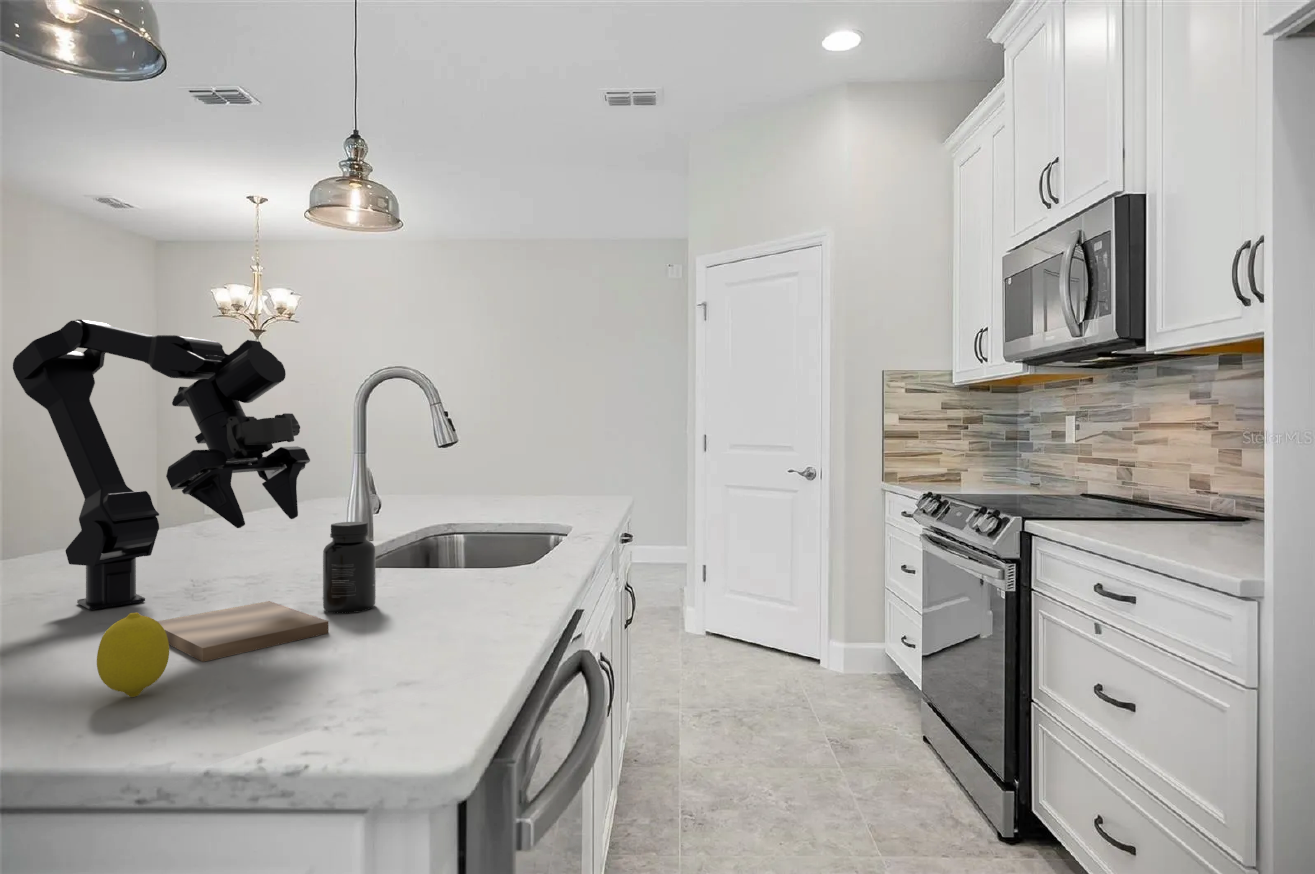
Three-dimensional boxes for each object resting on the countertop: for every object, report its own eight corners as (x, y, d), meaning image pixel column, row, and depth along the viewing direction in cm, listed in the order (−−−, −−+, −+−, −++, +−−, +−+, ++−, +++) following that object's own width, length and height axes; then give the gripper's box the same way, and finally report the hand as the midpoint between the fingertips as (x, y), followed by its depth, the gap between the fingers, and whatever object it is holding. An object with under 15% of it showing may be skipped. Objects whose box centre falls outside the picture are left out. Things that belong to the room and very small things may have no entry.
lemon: (131, 710, 65) (131, 622, 65) (81, 705, 66) (80, 618, 66) (183, 688, 70) (183, 607, 70) (136, 684, 71) (136, 603, 71)
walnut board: (150, 634, 88) (149, 622, 88) (269, 611, 99) (269, 601, 99) (202, 662, 78) (202, 648, 78) (328, 633, 89) (328, 621, 89)
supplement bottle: (386, 605, 103) (386, 522, 103) (347, 617, 97) (347, 528, 96) (351, 600, 106) (351, 519, 105) (311, 611, 99) (311, 524, 99)
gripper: (205, 386, 87) (258, 501, 85) (314, 393, 105) (360, 488, 103) (141, 431, 89) (192, 543, 88) (259, 430, 107) (302, 523, 106)
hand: (269, 522), depth 96 cm, fingers open, 9 cm apart
